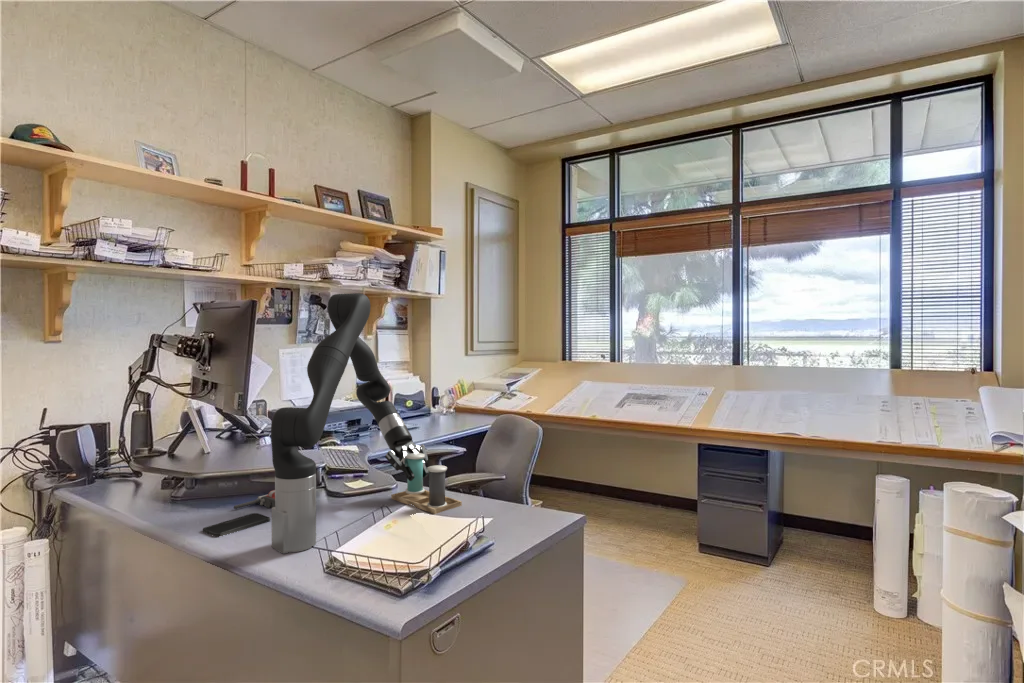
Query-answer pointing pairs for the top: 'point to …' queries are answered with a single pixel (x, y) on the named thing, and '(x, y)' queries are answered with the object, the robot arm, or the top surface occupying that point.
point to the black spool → (436, 486)
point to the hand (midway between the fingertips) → (419, 477)
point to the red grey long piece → (261, 501)
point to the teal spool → (415, 473)
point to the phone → (236, 524)
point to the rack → (425, 501)
